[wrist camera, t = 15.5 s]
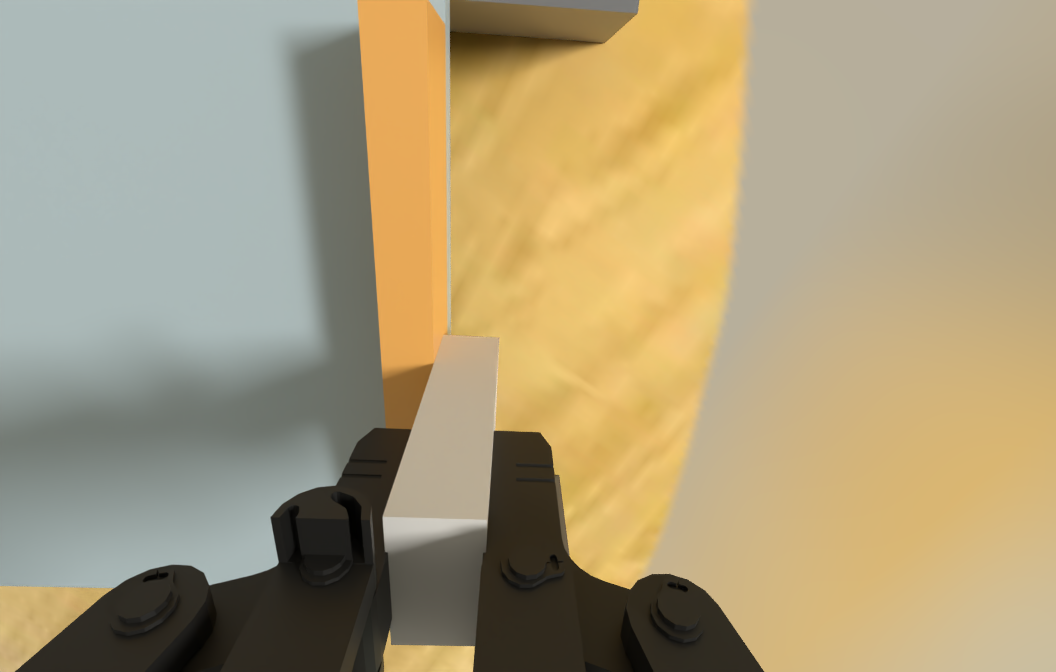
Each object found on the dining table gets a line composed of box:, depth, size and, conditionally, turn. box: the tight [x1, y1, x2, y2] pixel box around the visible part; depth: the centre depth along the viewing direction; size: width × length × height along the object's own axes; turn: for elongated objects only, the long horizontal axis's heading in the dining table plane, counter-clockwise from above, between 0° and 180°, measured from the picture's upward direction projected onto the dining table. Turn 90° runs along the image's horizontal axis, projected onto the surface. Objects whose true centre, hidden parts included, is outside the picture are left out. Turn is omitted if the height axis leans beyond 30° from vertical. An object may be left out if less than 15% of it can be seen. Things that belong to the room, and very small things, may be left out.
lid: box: [0, 0, 451, 588], centre depth 13 cm, size 18×20×3 cm
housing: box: [450, 0, 639, 555], centre depth 16 cm, size 29×20×4 cm
